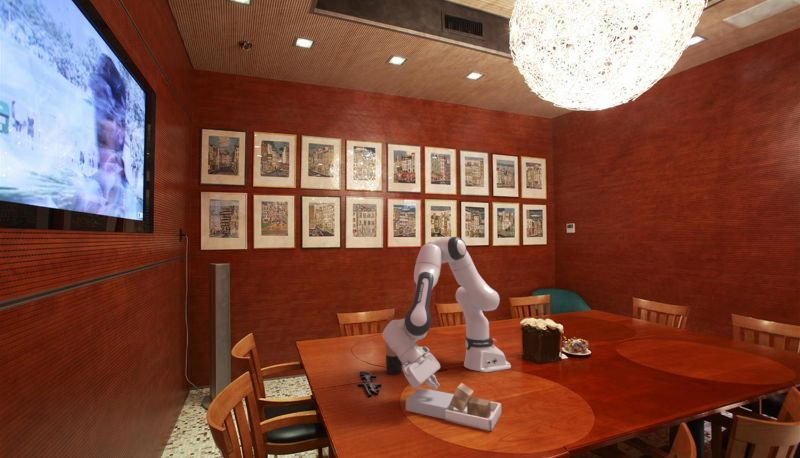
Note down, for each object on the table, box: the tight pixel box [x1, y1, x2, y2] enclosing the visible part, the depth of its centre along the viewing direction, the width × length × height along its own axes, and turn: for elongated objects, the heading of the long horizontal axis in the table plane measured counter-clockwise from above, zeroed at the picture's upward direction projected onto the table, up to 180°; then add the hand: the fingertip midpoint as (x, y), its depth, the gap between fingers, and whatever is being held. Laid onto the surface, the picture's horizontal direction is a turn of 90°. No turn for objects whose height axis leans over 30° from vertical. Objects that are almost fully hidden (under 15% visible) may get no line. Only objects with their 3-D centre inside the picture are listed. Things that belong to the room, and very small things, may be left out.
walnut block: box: [467, 396, 491, 419], centre depth 130 cm, size 5×4×7 cm
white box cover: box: [405, 387, 455, 420], centre depth 138 cm, size 16×12×4 cm
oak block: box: [450, 382, 474, 412], centre depth 133 cm, size 5×4×7 cm
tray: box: [444, 400, 503, 432], centre depth 131 cm, size 16×14×4 cm
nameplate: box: [357, 370, 382, 399], centre depth 162 cm, size 28×2×10 cm
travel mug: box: [385, 342, 403, 376], centre depth 177 cm, size 8×8×20 cm
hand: (437, 388), depth 137 cm, fingers closed
